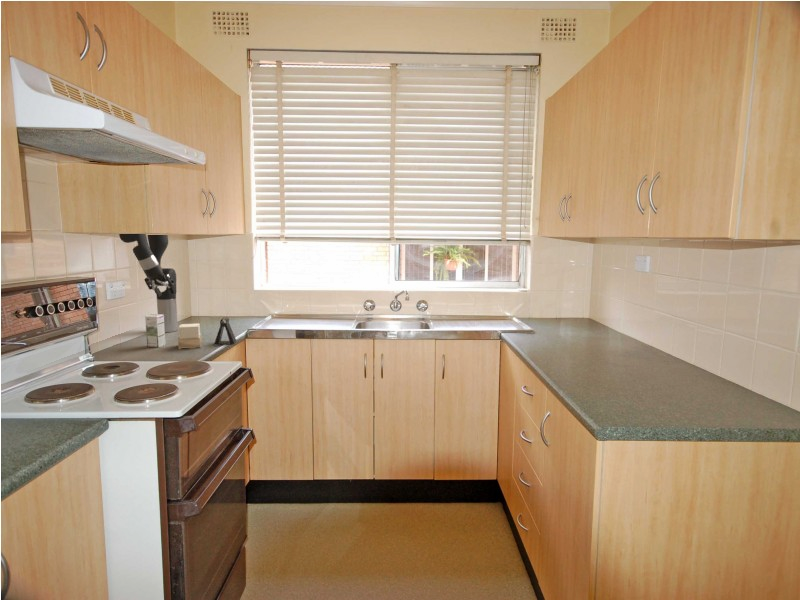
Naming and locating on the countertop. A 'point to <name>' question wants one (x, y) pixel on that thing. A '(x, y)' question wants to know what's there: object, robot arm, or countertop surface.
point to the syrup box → (155, 330)
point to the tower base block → (190, 342)
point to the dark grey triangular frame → (229, 333)
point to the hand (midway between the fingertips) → (167, 294)
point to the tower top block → (189, 330)
